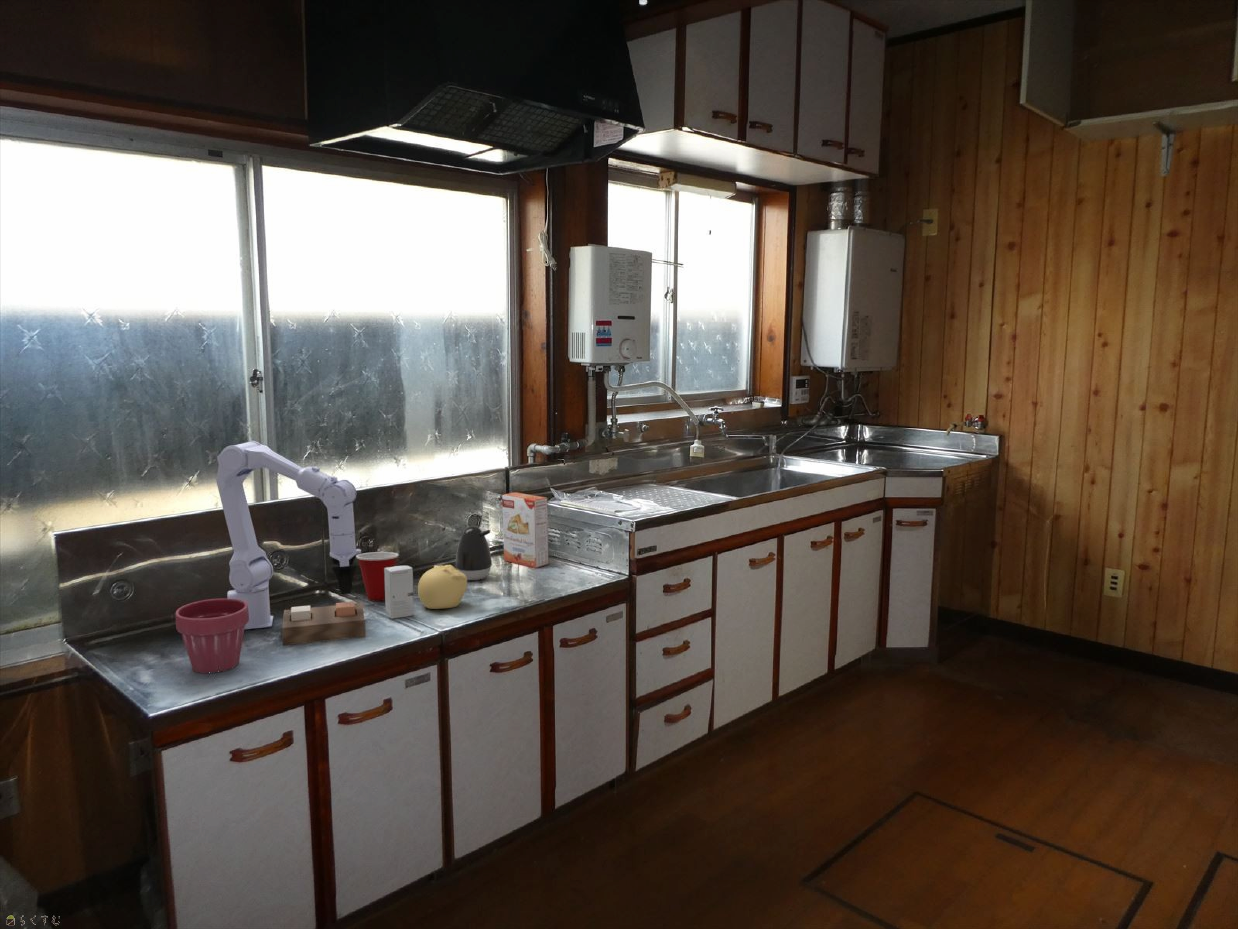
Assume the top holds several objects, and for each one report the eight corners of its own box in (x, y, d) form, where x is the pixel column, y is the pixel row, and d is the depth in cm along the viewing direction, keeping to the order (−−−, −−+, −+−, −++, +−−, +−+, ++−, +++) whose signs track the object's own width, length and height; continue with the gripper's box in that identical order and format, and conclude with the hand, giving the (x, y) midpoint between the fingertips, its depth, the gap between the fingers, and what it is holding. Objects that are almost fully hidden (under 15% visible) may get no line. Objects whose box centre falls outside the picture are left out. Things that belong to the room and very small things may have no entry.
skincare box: (391, 619, 225) (389, 571, 223) (385, 615, 229) (382, 567, 227) (415, 615, 228) (413, 567, 226) (408, 610, 232) (406, 564, 230)
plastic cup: (405, 592, 248) (404, 549, 246) (392, 604, 237) (390, 559, 236) (367, 591, 249) (365, 548, 247) (351, 603, 238) (349, 558, 237)
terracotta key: (336, 622, 215) (336, 608, 214) (336, 617, 219) (335, 603, 218) (355, 620, 216) (354, 606, 216) (354, 615, 220) (354, 601, 220)
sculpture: (474, 606, 235) (473, 565, 234) (433, 616, 227) (432, 574, 226) (451, 597, 244) (449, 557, 242) (410, 606, 236) (409, 565, 234)
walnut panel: (282, 645, 207) (281, 628, 206) (285, 626, 220) (284, 610, 220) (365, 636, 213) (364, 620, 212) (362, 618, 226) (361, 603, 225)
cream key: (291, 627, 212) (290, 612, 211) (292, 621, 216) (291, 607, 215) (310, 625, 213) (310, 610, 213) (311, 619, 217) (310, 605, 217)
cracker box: (502, 561, 280) (501, 494, 277) (517, 557, 285) (515, 491, 282) (535, 569, 271) (533, 499, 268) (549, 565, 276) (548, 496, 273)
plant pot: (250, 673, 190) (246, 613, 188) (175, 682, 186) (171, 621, 184) (253, 650, 204) (249, 595, 202) (183, 658, 199) (178, 601, 197)
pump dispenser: (483, 584, 255) (482, 530, 253) (449, 581, 258) (448, 528, 256) (498, 574, 265) (497, 523, 263) (465, 572, 268) (464, 521, 266)
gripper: (361, 537, 209) (364, 595, 211) (358, 525, 223) (361, 579, 225) (328, 540, 207) (332, 598, 209) (328, 528, 221) (331, 582, 223)
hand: (345, 589), depth 217 cm, fingers open, 7 cm apart
